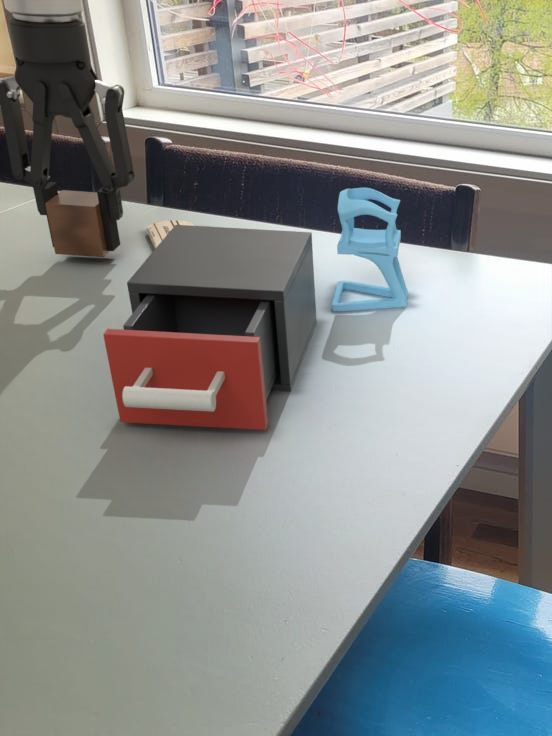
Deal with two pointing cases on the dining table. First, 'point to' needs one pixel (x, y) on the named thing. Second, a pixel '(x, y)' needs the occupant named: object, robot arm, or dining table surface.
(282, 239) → the grey drawer unit
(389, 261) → the chair
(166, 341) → the red drawer
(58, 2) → the robot arm
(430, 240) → the dining table surface
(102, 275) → the dining table surface
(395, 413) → the dining table surface
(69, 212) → the walnut block
